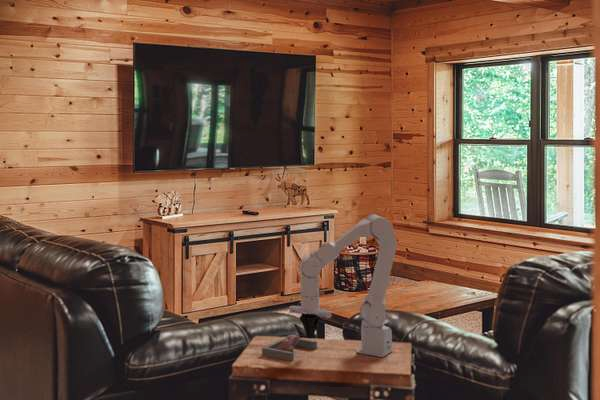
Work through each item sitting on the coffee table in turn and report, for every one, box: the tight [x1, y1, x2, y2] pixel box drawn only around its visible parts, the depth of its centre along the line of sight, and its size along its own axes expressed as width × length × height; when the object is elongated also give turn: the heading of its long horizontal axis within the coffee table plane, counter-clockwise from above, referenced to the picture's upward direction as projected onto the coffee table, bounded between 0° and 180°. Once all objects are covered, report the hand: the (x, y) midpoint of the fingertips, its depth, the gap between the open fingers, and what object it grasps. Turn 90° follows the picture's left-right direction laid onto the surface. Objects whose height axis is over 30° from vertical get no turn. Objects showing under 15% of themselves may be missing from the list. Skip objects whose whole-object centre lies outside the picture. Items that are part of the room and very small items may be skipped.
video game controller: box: [275, 333, 301, 352], centre depth 239 cm, size 10×5×7 cm, turn 157°
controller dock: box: [261, 337, 318, 362], centre depth 239 cm, size 11×15×2 cm
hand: (310, 337), depth 235 cm, fingers closed
